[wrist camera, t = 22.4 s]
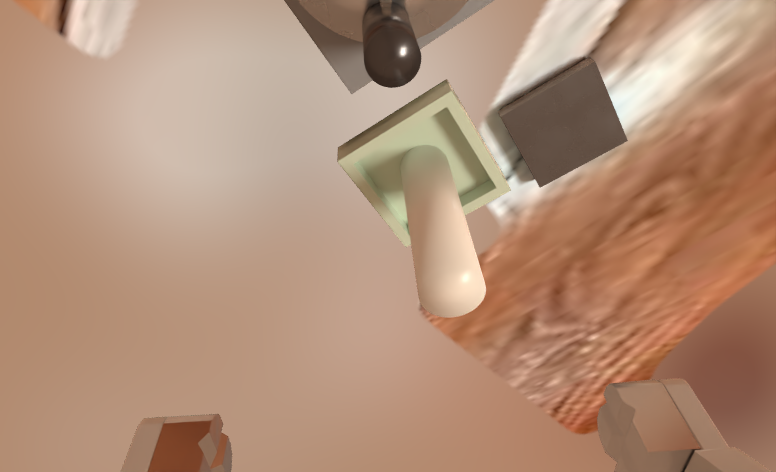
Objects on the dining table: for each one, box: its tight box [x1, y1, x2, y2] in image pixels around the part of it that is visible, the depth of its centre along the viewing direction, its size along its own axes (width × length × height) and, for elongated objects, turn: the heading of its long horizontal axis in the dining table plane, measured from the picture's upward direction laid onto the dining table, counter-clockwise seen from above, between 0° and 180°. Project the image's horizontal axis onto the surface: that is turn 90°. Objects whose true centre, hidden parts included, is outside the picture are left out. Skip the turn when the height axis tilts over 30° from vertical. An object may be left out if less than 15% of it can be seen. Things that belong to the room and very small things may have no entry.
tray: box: [337, 80, 511, 247], centre depth 40 cm, size 9×9×2 cm
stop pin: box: [400, 145, 486, 317], centre depth 34 cm, size 4×4×14 cm
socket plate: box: [498, 57, 628, 187], centre depth 39 cm, size 7×7×1 cm
